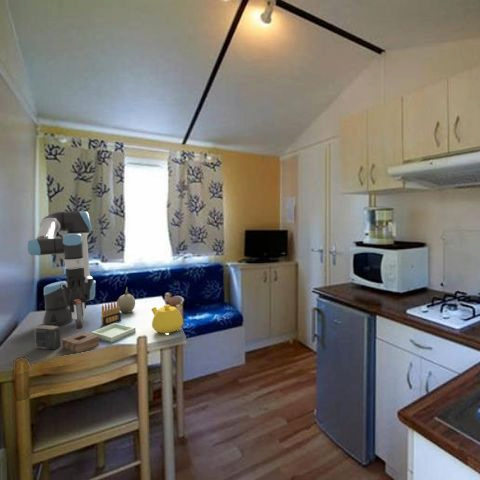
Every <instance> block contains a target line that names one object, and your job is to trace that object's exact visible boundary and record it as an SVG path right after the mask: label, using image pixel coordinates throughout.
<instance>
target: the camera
mask: <svg viewBox="0 0 480 480" xmlns="http://www.w3.org/2000/svg"><path fill="white" fill-rule="evenodd" d="M33 333H34V347H35V348H36V349H43V350H44V349H45V350H56V349H58V348H60V347H61V345H62V343H61V342H62V341H61V330H60V328H59V326H47V325H43V324H42V325H38V326H36V327H34V329H33Z"/></svg>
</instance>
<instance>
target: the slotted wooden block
mask: <svg viewBox="0 0 480 480" xmlns="http://www.w3.org/2000/svg"><path fill="white" fill-rule="evenodd" d="M61 340H62V341H61V342H62V348H63V349H66V350H68V351H70V352H73V353H76V354H78V353H77V352H80V353H82V352H85V351H87V350H89V349H91V348H93V347H96V346H99V345H100V343H99V339H98V336H96V335H92V334H91V333H88V332H86V331H82V332H79V333H77V334H73V335H70V336H68V337H65V338H63V339H61Z"/></svg>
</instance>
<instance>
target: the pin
mask: <svg viewBox="0 0 480 480" xmlns="http://www.w3.org/2000/svg"><path fill="white" fill-rule="evenodd" d="M74 305H76V311H77V319H74V322H75V323H74V324H75V325H74V326H75V330H82V329H83V328H84V317H83V314H82V301H81V299H77V300H74Z"/></svg>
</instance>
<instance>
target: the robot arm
mask: <svg viewBox="0 0 480 480" xmlns="http://www.w3.org/2000/svg"><path fill="white" fill-rule="evenodd" d="M89 215H90V214H89V213H88V211H83V210H82V211H81V210H75V211H55V212H53V213H50V214H48V215H46V216H44V217H43V219H41V222H40V223H39V228H40V229H39V232H38V234H37V237H36V238H33V239H29V240H27V245H26V246H27V252H28V254H29V256H45V255H46V256H47V255H60V254H63V255H64V259H63V260H64V268H65V280H61V281H56V282H52V283H50V284H47V285H45V286H44V287H43V298H44V310H45V312H44V316H43V318H42V319H43V320H42V325H47V326H58V327H60V326H64V325H66V324H69V323H71V322H72V321H74V320H75V319H77V311H76V305H74V300H77V299H81V301H82V314H83V318H84V317H86V309H87V303H88V301H91V300H94V299H95V296H96V283H97V282H96V280H95V279H94V278H93V276H91V274H90V273H91V272H90V260H89V247H88V246H89V245H88V236H89V235H90V231H92V230H93V229H92V224H91V219H90V216H89ZM58 232H66V234H63V236H62V237H57V233H58Z"/></svg>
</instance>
